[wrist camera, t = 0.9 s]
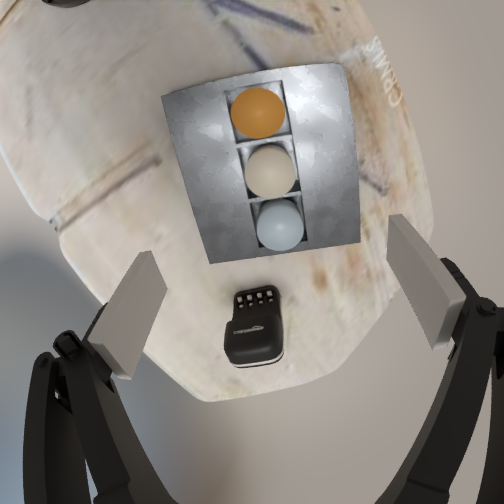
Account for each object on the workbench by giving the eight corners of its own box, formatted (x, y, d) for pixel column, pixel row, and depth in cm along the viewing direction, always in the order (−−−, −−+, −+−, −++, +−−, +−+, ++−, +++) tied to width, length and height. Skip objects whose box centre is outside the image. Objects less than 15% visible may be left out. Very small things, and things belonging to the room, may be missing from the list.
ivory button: (242, 149, 28) (239, 155, 25) (289, 141, 27) (291, 146, 24) (251, 191, 30) (250, 202, 28) (296, 184, 29) (299, 194, 27)
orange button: (229, 93, 25) (225, 93, 22) (278, 84, 24) (279, 83, 21) (239, 138, 27) (236, 143, 25) (287, 130, 26) (289, 133, 24)
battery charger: (276, 278, 39) (278, 343, 29) (283, 299, 40) (286, 363, 31) (228, 289, 40) (217, 353, 30) (237, 308, 42) (229, 371, 32)
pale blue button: (253, 202, 31) (252, 213, 28) (297, 195, 30) (300, 205, 28) (261, 240, 33) (261, 253, 31) (303, 234, 32) (305, 247, 30)
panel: (170, 95, 27) (160, 96, 24) (336, 65, 24) (343, 62, 21) (213, 250, 37) (209, 263, 34) (354, 230, 34) (360, 242, 31)
